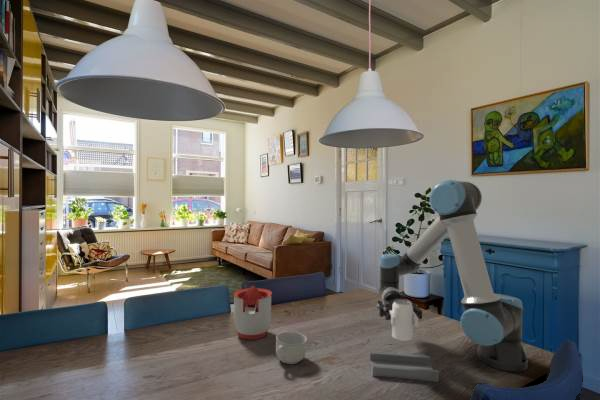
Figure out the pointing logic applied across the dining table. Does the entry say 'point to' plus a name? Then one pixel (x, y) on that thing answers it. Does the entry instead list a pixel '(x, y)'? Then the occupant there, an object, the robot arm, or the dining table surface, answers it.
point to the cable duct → (402, 366)
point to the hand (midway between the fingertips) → (405, 322)
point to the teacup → (290, 347)
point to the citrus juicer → (252, 312)
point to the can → (402, 320)
